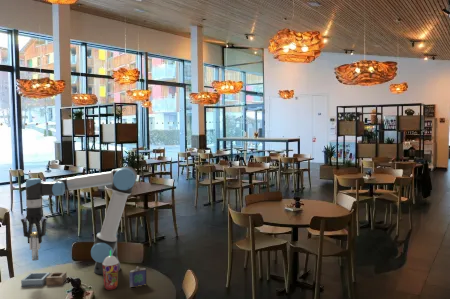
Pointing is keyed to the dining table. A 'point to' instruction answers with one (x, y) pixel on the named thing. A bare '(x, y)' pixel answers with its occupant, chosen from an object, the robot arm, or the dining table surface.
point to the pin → (34, 246)
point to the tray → (34, 279)
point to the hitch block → (56, 278)
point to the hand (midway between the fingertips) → (35, 248)
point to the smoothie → (110, 272)
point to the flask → (137, 277)
